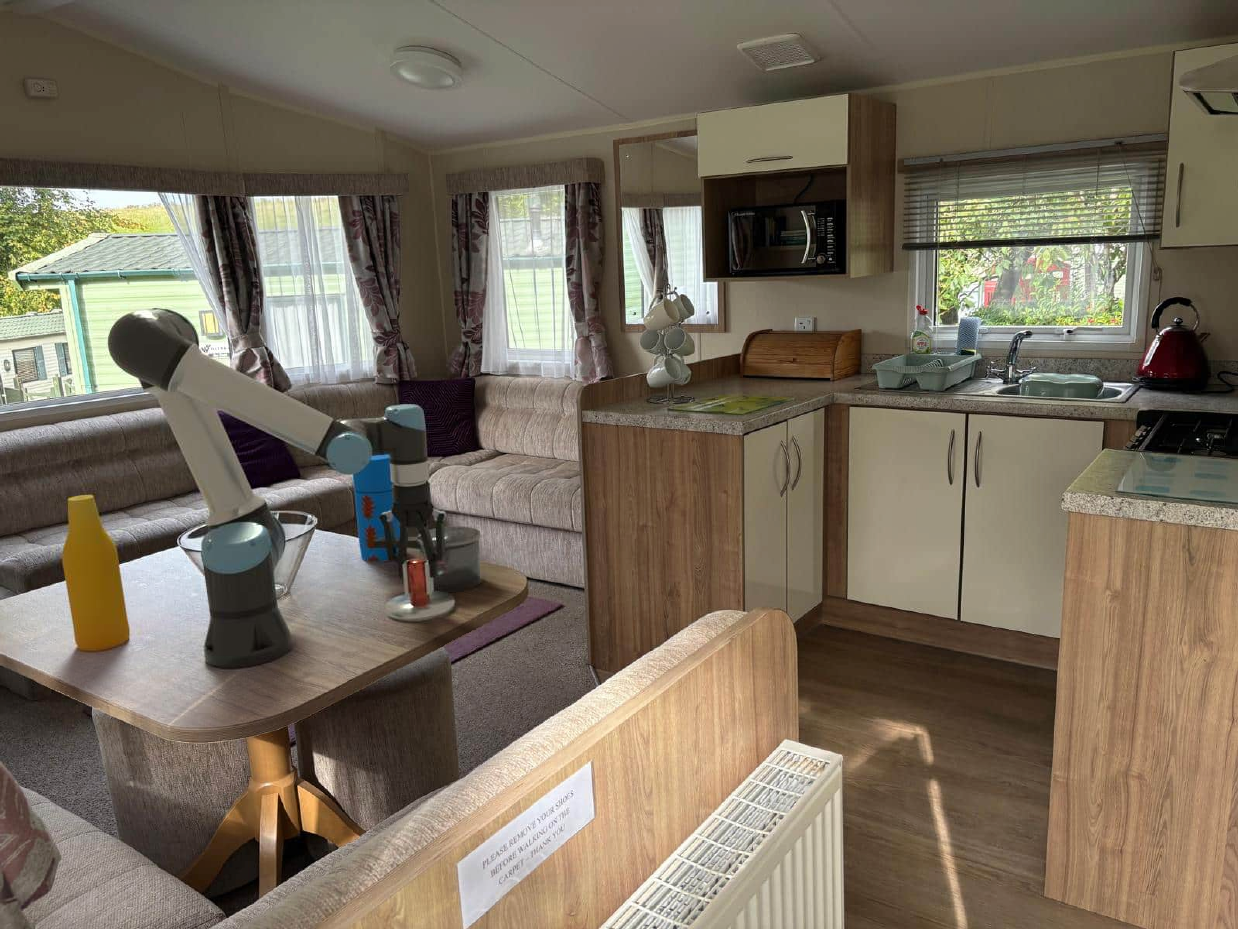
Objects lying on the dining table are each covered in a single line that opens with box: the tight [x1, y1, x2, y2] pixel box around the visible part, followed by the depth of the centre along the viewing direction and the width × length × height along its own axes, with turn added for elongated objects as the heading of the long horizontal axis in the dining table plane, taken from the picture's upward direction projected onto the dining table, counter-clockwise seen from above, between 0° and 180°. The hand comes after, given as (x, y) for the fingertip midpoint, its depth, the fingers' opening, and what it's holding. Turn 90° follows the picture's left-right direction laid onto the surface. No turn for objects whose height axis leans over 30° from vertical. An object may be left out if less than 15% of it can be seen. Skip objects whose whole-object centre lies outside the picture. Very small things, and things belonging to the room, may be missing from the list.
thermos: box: [352, 455, 401, 562], centre depth 226 cm, size 11×11×25 cm
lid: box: [385, 557, 456, 623], centre depth 190 cm, size 14×14×10 cm
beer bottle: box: [61, 494, 131, 652], centre depth 176 cm, size 9×9×29 cm
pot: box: [374, 525, 483, 593], centre depth 206 cm, size 14×23×11 cm, turn 87°
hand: (419, 592), depth 191 cm, fingers closed on lid, 4 cm apart
